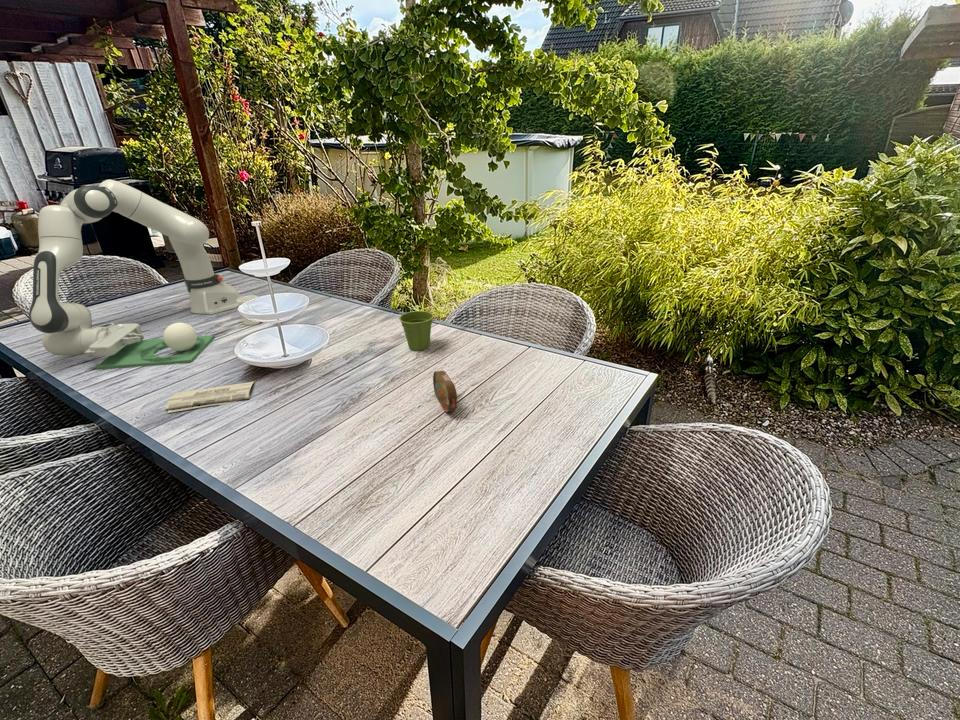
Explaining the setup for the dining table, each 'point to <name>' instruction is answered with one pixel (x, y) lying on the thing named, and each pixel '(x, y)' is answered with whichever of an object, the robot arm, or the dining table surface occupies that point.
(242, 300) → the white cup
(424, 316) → the plant pot
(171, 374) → the dining table surface
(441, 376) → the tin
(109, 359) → the putting mat
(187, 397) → the newspaper
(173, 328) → the ball
